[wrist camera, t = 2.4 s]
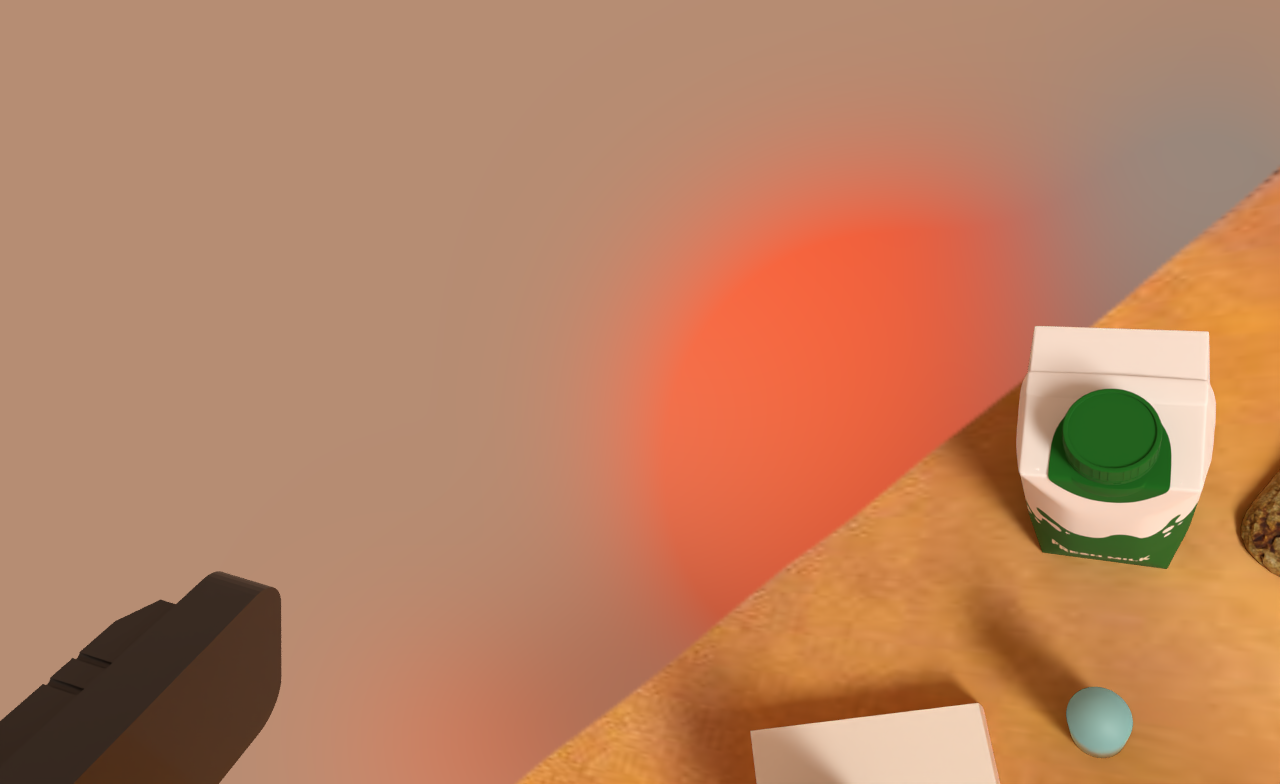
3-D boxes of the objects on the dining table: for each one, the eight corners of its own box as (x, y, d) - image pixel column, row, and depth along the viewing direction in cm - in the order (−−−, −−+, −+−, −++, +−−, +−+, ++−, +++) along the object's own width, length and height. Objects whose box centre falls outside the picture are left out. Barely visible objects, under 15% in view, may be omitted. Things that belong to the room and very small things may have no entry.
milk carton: (1025, 564, 60) (999, 470, 43) (1038, 430, 63) (1019, 292, 46) (1184, 586, 56) (1224, 492, 39) (1191, 442, 59) (1232, 296, 42)
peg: (1133, 755, 54) (1140, 746, 46) (1077, 760, 55) (1075, 753, 47) (1118, 700, 55) (1122, 683, 48) (1063, 706, 56) (1059, 690, 49)
